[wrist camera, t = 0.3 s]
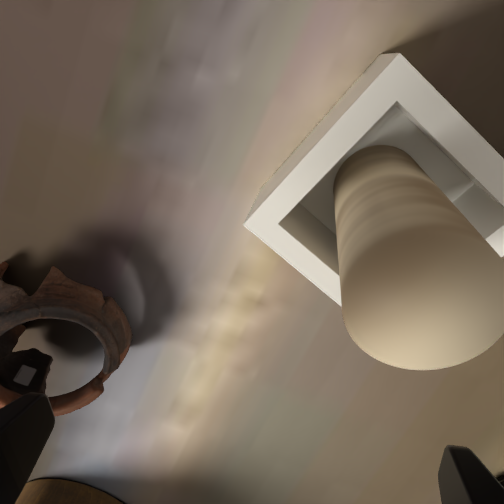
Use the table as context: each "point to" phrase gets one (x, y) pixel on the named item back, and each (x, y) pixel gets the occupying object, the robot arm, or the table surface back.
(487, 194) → the white square tube
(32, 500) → the wooden container
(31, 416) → the robot arm
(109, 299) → the brown rounded hollow piece
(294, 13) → the table surface
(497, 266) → the dowel
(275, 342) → the table surface
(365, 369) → the table surface
